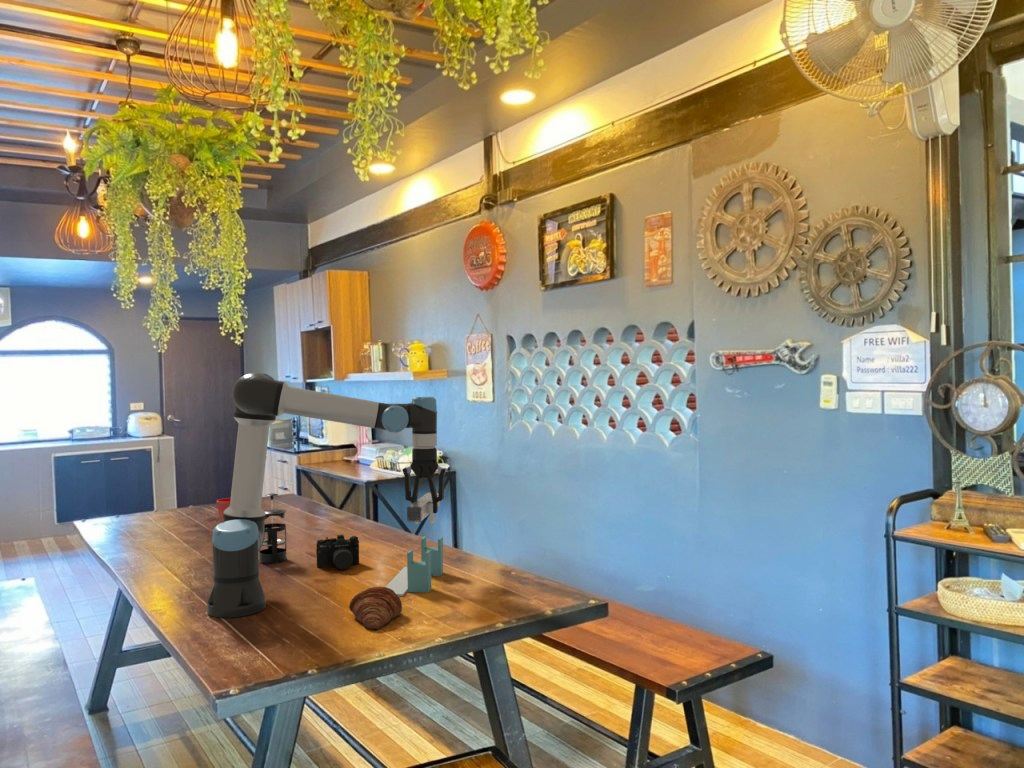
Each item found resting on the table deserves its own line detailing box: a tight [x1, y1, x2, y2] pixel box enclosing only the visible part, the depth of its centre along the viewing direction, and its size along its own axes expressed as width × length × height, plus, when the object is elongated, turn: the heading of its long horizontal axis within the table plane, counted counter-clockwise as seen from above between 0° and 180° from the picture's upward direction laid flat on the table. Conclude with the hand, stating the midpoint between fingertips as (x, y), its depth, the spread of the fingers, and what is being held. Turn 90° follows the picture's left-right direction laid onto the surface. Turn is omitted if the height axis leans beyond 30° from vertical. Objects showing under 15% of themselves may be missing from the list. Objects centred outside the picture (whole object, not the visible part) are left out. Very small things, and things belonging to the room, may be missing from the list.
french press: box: [258, 493, 288, 565], centre depth 259 cm, size 12×9×23 cm
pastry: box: [348, 586, 403, 630], centre depth 197 cm, size 17×15×8 cm
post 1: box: [406, 549, 432, 593], centre depth 221 cm, size 4×6×12 cm, turn 84°
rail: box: [406, 491, 441, 523], centre depth 230 cm, size 28×4×4 cm, turn 174°
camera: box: [315, 534, 360, 571], centre depth 248 cm, size 14×11×10 cm
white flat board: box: [385, 566, 408, 597], centre depth 231 cm, size 30×7×1 cm, turn 174°
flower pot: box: [216, 497, 231, 523], centre depth 329 cm, size 11×11×10 cm
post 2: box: [420, 535, 444, 577], centre depth 239 cm, size 4×6×12 cm, turn 84°
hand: (424, 523), depth 230 cm, fingers closed on rail, 4 cm apart
